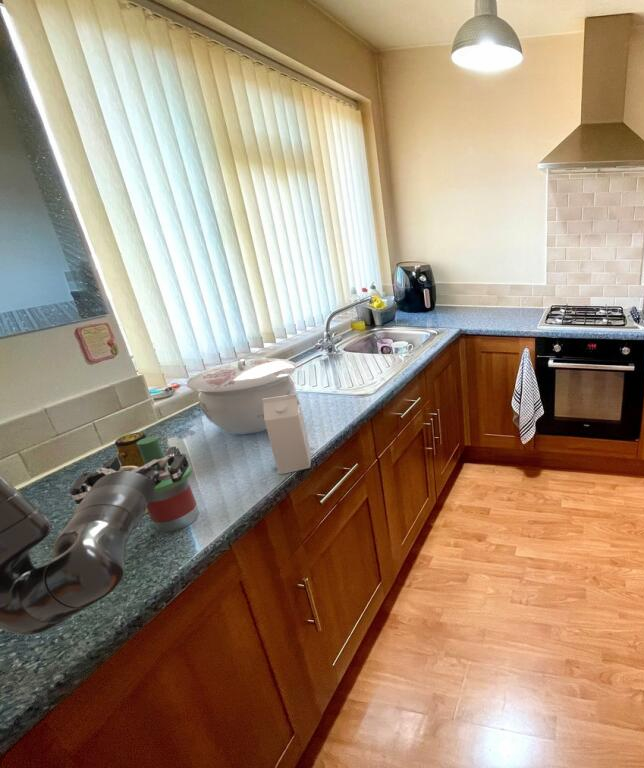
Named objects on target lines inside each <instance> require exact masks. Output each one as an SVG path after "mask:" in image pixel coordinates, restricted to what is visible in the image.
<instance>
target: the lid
mask: <svg viewBox="0 0 644 768" xmlns="http://www.w3.org/2000/svg"><path fill="white" fill-rule="evenodd" d="M136 444H137V446H138V449H139V451H140V454H141V456H142V458H143V461H144V463H145V464H147V463H149V462H151V461H153V460H155V459H156V460H160V459H162V458H163V457H165V455H164V452H163V450H162V447H161V445H160V442H159V440H158V438H157V436H148V437H147V436H146V438H144V439H141V440H139V441H138V442H137V443H136ZM164 466H165V468H166V467H167V466H168V463H167V462H166V463H164ZM151 469H153V470H155V467H152V468H151ZM155 471H156V470H155ZM192 473H193V469H192V467H191V465H190V464H189V466H188V468H187V470H186V472H185V474H184V475H183V477H182V479H181V480H180V481H179V482H175V483H173V482H172V479H168V480H163V481H161V483H159V484H158V485H157V486H156V487H155V489H154V493H159V492H162V491H165V490H168V489H171V488H173V487H175V486H177V485H179V484H181V483H182V482H184V481H185V480H188V479H189V478H190V477H191V476H192Z"/></svg>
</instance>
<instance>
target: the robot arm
mask: <svg viewBox="0 0 644 768" xmlns="http://www.w3.org/2000/svg"><path fill="white" fill-rule="evenodd" d="M164 463H167V464H168V466H167V467H166V468H165V466H164ZM189 465H190V464H189V461H188V458H187V456H186V453H185V452H184V453H183V452H182V453H181V450H180V449H179V447H176V446H170V447H169V448H168V450H167V452H166V454H165V455H164V457H163V458H162V459H160V460H156V459H155V460H153V461H151V462H149V463H147V464H145V465H143V466H141V467H137V468H135V469H128V470H123V471H120V472H119V469H120V467H122V465H121V462H120V460H119V458H118V456H117V457H112V458H110V459H109V460H108V461H106V462H105V463H104V464H103V465H102V467H100V468H97V469H96V470H95V472H93V473H92V472H90V471H88V472H84V473H81V474H80V475H79V477H78V478H77V479H76V481H75V482H74V484H73V485H72V486H71V488H70V489H69V492H70V495H71V497H72V499H73V501H74V502H75V504H76V505H77V506H76V507H75V509H74V511H73V512H72V515H71V517H70V519H69V520H68V521H67V523H66V525H65V526H64V527H63V528H62V530H61V531H60V533H59V534H58V535H57V536H56V539H55V540H54V543H53V545H52V552H51V553H52V557H53V559H51V560H49V561H47V562H45V563H43V564H42V565H40V566H38V567H36V566H35V565H34V564H33V562H32V559H31V556H30V551H31V550H32V549H33V548H35V547H36V546H37V545H39V544H40V543H41V542H42V541H43V540H45V539H46V538H48V536H49V534H50V533H51V531H52V530H53V524H52V521H51V519H49V517H48V516H47V515H45V513H44V512H43V511H41V510H40V509H39V508H38V507H37V506H36V505H35V504H34V503H33V502H31V500H29V499H28V498H27V497H26V496H25V495H24V494H23V493H21V492H20V490H18V488H16V487H15V486H14V485H12V484H11V483H10V482H9V480H7V479H5V477H4V476H3V475H2V474H0V629H2V630H4V631H6V632H9V633H12V634H16V635H22V636H23V635H25V636H28V635H29V636H31V635H32V636H33V635H37V634H42V633H44V632H47V631H48V630H51V629H53V628H55V627H57V626H58V625H60V624H61V623H63V622H65V621H67V620H68V619H69V618H71V617H73V616H75V615H77V614H78V613H80V612H81V611H84V610H85V609H87V608H88V607H91V606H92V605H93V604H95V603H97V602H98V601H100V600H102V599H104V598H105V597H107V596H109V594H110V593H112V592H113V591H114V590H115V588H116V587H117V586H118V585H119V584H120V582H121V581H122V579H123V578H124V576H125V573H126V544H127V543H128V540H129V538H130V537H131V535H132V533H133V531H134V529H135V528H136V527H137V526H138V525H139V523H140V522H141V520H142V518H143V517H144V515H143V514H144V512H145V510H146V508H147V506H148V504H149V502H150V500H151V498H152V496H153V494H154V489H155V487H156V486H157V485H158V484H159V483H161V481H163V480H168V479H172V482H173V483H175V482H179V481H180V480H181V479H182V477H183V475H184V474H185V472H186V470H187V468H188V466H189ZM152 467H155V470H156V471H155V470H153V469H151V468H152Z"/></svg>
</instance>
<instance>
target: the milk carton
mask: <svg viewBox="0 0 644 768" xmlns="http://www.w3.org/2000/svg"><path fill="white" fill-rule="evenodd" d="M262 400H263V407H264V421H265V424H266V428H267V430H266V432H267V435H268V439H269V443H270V447H271V450H272V454H273V458H274V462H275V466H276V469H277V473H278V475H283V474H288V473H293V472H298V471H303V470H307V469H310V468H311V464H312V450H311V447H310V442H309V438H308V433H307V429H306V424H305V420H304V415H303V409H302V406H301V403H300V401H299V399H298V396H297V393H296V394H293V395H286V396H279V397H272V398H265V399H262Z"/></svg>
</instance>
